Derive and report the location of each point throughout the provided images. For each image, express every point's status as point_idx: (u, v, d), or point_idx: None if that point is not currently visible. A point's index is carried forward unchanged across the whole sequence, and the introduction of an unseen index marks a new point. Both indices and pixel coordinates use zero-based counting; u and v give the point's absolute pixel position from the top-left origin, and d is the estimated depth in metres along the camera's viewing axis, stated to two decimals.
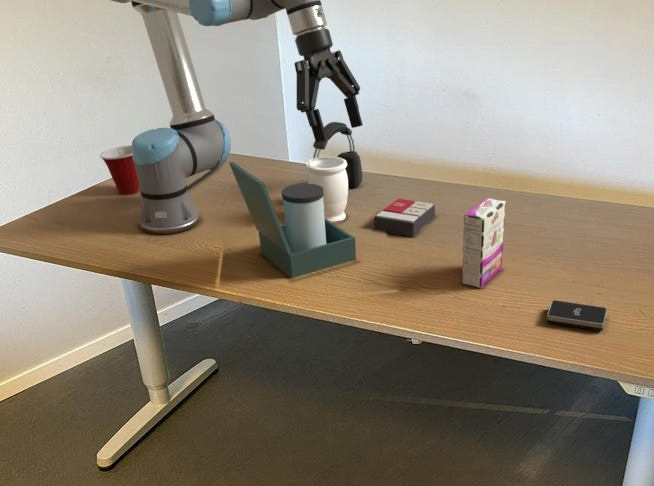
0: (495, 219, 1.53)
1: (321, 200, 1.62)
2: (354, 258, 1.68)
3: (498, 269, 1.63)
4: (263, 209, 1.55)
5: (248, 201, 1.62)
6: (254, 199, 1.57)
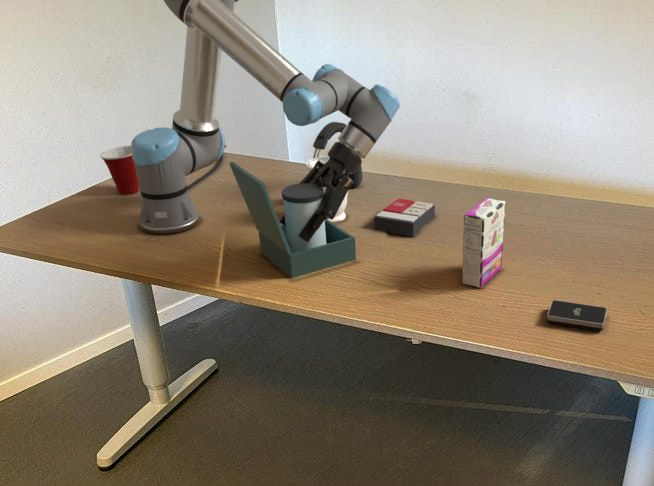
0: (495, 219, 1.53)
1: (321, 200, 1.62)
2: (354, 258, 1.68)
3: (498, 269, 1.63)
4: (263, 209, 1.55)
5: (248, 201, 1.62)
6: (254, 199, 1.57)
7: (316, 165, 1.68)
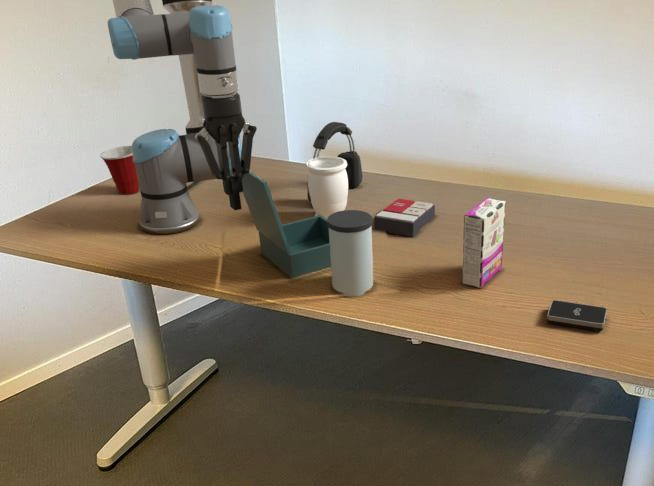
0: (495, 219, 1.53)
1: (370, 229, 1.50)
2: None
3: (498, 269, 1.63)
4: (264, 208, 1.55)
5: (249, 200, 1.62)
6: (255, 198, 1.57)
7: None
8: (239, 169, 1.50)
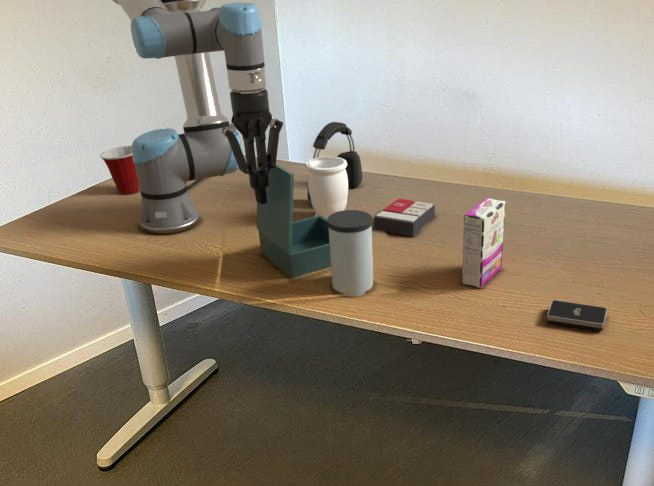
0: (495, 219, 1.53)
1: (370, 229, 1.50)
2: None
3: (498, 269, 1.63)
4: (279, 203, 1.56)
5: None
6: (272, 193, 1.58)
7: None
8: (265, 164, 1.53)
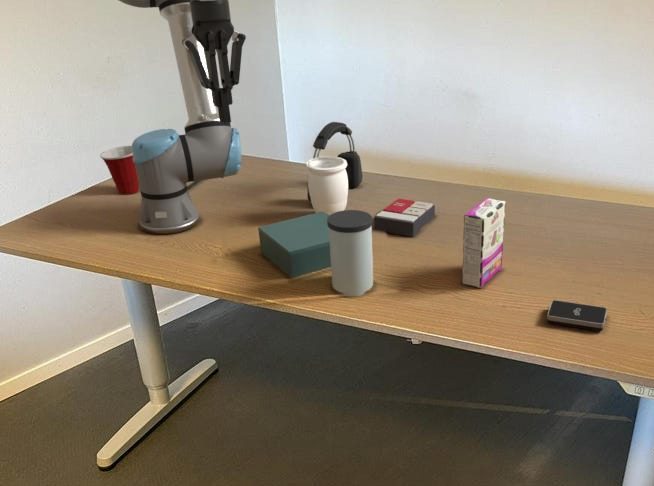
0: (495, 219, 1.53)
1: (370, 229, 1.50)
2: None
3: (498, 269, 1.63)
4: (318, 234, 1.65)
5: (296, 222, 1.71)
6: (315, 227, 1.69)
7: None
8: (228, 79, 1.49)
